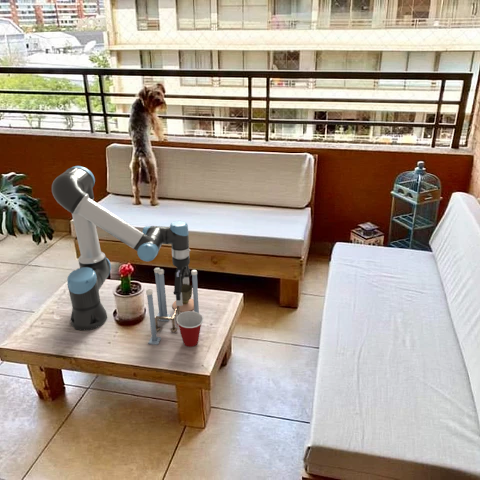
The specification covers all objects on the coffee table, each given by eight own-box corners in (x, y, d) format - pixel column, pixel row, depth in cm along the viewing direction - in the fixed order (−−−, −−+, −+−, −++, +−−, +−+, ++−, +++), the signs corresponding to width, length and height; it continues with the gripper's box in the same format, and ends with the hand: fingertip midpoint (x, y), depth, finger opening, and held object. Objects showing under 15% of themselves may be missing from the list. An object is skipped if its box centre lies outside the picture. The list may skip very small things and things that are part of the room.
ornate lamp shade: (192, 306, 203) (191, 292, 200) (176, 306, 203) (174, 291, 200) (193, 297, 210) (193, 283, 206) (178, 297, 210) (177, 283, 207)
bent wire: (152, 331, 188) (151, 318, 185) (160, 315, 198) (158, 303, 196) (176, 332, 187) (175, 320, 184) (183, 316, 197) (182, 304, 194)
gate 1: (148, 344, 180) (142, 293, 170) (162, 315, 198) (157, 268, 188) (158, 344, 180) (152, 293, 170) (171, 316, 198) (166, 268, 187)
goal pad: (169, 311, 201) (169, 310, 201) (175, 298, 211) (175, 297, 211) (193, 312, 200) (193, 311, 200) (198, 299, 210) (198, 298, 209)
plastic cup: (201, 352, 175) (199, 327, 170) (174, 349, 177) (172, 325, 172) (207, 335, 185) (206, 311, 180) (182, 333, 187) (180, 309, 182)
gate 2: (200, 322, 194) (197, 273, 183) (156, 319, 196) (150, 271, 185) (202, 316, 197) (199, 269, 187) (158, 313, 199) (153, 266, 189)
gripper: (182, 270, 183) (184, 313, 192) (195, 244, 205) (196, 283, 214) (164, 269, 184) (167, 311, 193) (179, 243, 206) (181, 282, 215)
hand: (183, 297), depth 203 cm, fingers open, 13 cm apart
